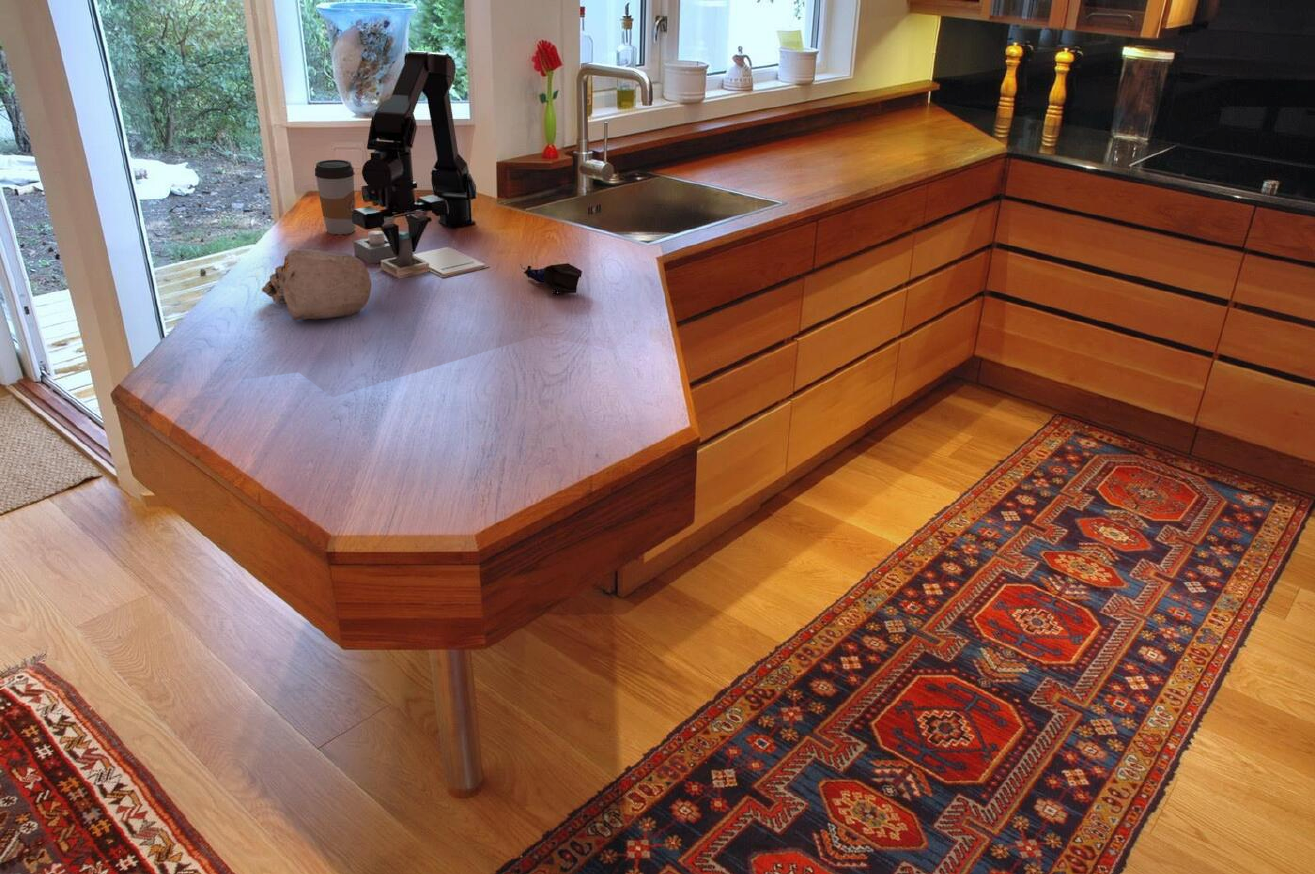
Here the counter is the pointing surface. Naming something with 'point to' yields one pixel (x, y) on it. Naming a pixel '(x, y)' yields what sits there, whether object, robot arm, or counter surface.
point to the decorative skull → (320, 284)
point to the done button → (376, 238)
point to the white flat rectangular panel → (449, 262)
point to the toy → (556, 277)
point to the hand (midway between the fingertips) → (404, 253)
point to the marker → (405, 250)
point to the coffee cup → (336, 195)
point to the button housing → (373, 251)
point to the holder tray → (417, 268)
